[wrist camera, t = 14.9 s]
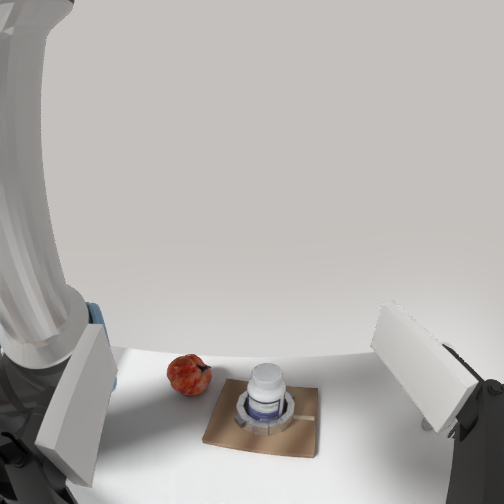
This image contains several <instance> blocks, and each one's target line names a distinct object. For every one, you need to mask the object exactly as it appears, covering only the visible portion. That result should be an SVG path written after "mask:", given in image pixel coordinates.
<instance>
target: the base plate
mask: <svg viewBox="0 0 504 504" xmlns="http://www.w3.org/2000/svg"><path fill="white" fill-rule="evenodd" d="M247 386H248V382H246V381H239V380H233V379H226V382H225V384H224V387H223V389H222V392H221V394H220V397H219V399H218V402H217V404H216V407H215V409H214V412H213V414H212V417H211V419H210V421H209V424H208V426H207V429H206V431H205V434H204V436H203V438H202V441H203V443H207V444H211V445H216V446H221V447H226V448H231V449H236V450H242V451H248V452H255V453H262V454H271V455H280V456H291V457H305V458H313V457H314V452H315V438H316V421H317V398H318V388H303V387H291V386H286V390H289V391H290V392H291V393H292V394H293V395H294V396H295V399H294V403H295V405H294V413H293V419H292V423H291V424H290V425H289V426H288V427H287V428H286V429H285V430H284V431H282V432H281V433H277V434H274V435H271V436H269V435H268V436H263V435H256V434H252V433H250V432H249V431H247V430H246V429H244V428H240V427H239V426H238V425H237V423H236V422H235V421H234V416H236V415H237V409H236V405H237V402H238V399H239V396H240V395H241V394H243V393H244V392H245V391H247ZM245 411H246V414H247V415H248V406H247V407H246V409H245ZM285 413H286V411H285V409H283V415H284V414H285ZM283 415H282V416H283Z"/></svg>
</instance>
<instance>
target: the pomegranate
mask: <svg viewBox="0 0 504 504" xmlns="http://www.w3.org/2000/svg"><path fill="white" fill-rule="evenodd" d="M209 368H211V367H210V366H207V365H206V364H204V363H203V361H202V360H201V359H200V358H199V357H197V356H196V355H194V354H188V355H185V356H180V357H178V358H176V359H175V360H173V361H172V362H171V363H170V364H169V366H168V369H167V377H168V379H169V380H170V381H171V385H172V387H173V388H174V389H175V390H177V391H179V392H181V393H182V394H183V395H185V396H194V395H198V394H200V393H202V392H203V391H204V390H205V389H206V388H207V385H208V383H209V382H210V380H211V371H210V369H209Z"/></svg>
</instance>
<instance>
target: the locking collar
mask: <svg viewBox="0 0 504 504" xmlns="http://www.w3.org/2000/svg"><path fill="white" fill-rule="evenodd" d="M294 399H295V396H294V395H293V394H292V393H291V392H290V391H289V390H286V392H285V400H284V409H285V411H286V413H285V414H284V415H283V416H282V417H281V418H279V419H276V420H272V421H269V422H267V421H259V420H255V419H253V418H252V417H250V416H249V415H247V414H246V411H245V409H246V407H247V406H248V398H247V391H245V392H244V393H243V394H241V395H240V396H239V399H238V402H237V405H236V409H237V415H236V416H234V421H235V422H236V423H237V425H238V426H239V427H240V428H244V429H246V430H247V431H249V432H250V433H252V434H256V435H263V436H268V435H269V436H271V435H274V434H277V433H281V432H282V431H284V430H285V429H286V428H287V427H288V426H289V425H290V424H291V423H292V419H293V413H294V405H295V403H294Z"/></svg>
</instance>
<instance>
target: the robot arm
mask: <svg viewBox="0 0 504 504" xmlns="http://www.w3.org/2000/svg"><path fill="white" fill-rule="evenodd" d="M73 4H74V0H0V504H78V503H77V501H76V500H75V498H74V496H73V495H72V493H71V492H70V490H69V488H68V487H67V486H66V484H65V481H66V477H67V478H68V479H69V480H70V481H71V482H72V483H73V484H77V485H81V486H86V487H90V488H92V483H93V477H94V470H95V465H96V459H97V454H98V449H99V444H100V439H101V434H102V430H103V425H104V421H105V417H106V412H107V408H108V404H109V400H110V396H111V393H112V392H113V391H114V390H115V388H116V385H117V377H116V374H117V371H118V369H117V366H116V364H115V361H114V358H113V355H112V352H111V349H110V344H109V339H108V335H107V331H106V327H105V324H104V320H103V317H102V313H101V311H100V308H99V306H98V305H97V304H95V303H89V302H85V301H84V299H83V297H82V296H81V294H80V293H79V292H78V291H77V290H75V289H74V288H73V287H71V286H69V285H67V284H66V282H65V279H64V275H63V272H62V268H61V264H60V260H59V256H58V253H57V248H56V244H55V240H54V235H53V230H52V225H51V220H50V215H49V209H48V203H47V196H46V189H45V181H44V172H43V162H42V147H41V116H40V115H41V84H42V71H43V60H44V52H45V45H46V38H47V36H48V34H49V32H50V31H51V29H53V28H54V27H55V26H56V25H57V24H58V23H59V22H60V21H61V20H62V19H64V18H65V17H66V16H67V15H68V14H69V13H70V12H71V11H72V8H73ZM371 347H372V349H373V350H374V351H375V352H376V354H377V355H378V356H379V358H380V359H381V360H382V361H383V363H384V364H385V365H386V366H387V368H388V369H389V370H390V372H391V373H392V374H393V375H394V377H395V378H396V379H397V381H398V382H399V383H400V385H401V386H402V387H403V388H404V390H405V391H406V392H407V394H408V395H409V396H410V398H411V399H412V400H413V402H414V403H415V404H416V406H417V407H418V408H419V410H420V411H421V412H422V414H423V415H424V416H425V418H426V419H427V420H428V422H429V423H430V424H431V426H432V427H433V429H434V430H435V431H436V433H438V432H440V431H442V430H444V429H445V428H447V427H449V425H450V424H451V423H452V421H453V420H454V419H455V417H456V419H457V420H458V422H457V423H456V425H455V426H454V427H453V429H452V430H451V431H450V433H449V434H448V437H447V438H450V436H451V435H452V434H453V433H454V431H455V435H454V436H453V437H452V438H454V439H455V440H454V452H453V461H452V469H451V477H450V483H449V489H448V494H447V499H446V504H504V384H501V383H500V382H498V381H497V380H493V379H489V380H486V381H484V380H483V379H482V378H481V377H480V376H479V375H478V374H477V373H476V372H475V371H474V370H473V369H472V368H471V367H470V366H469V365H468V364H467V363H466V362H464V360H463V359H462V358H461V357H459V355H458V354H457V353H456V352H455V351H454V350H453V349H451V348H449V347H447V346H445V345H444V344H442V345H441V344H440V343H439V342H438V341H437V340H436V339H435V338H434V337H433V336H432V335H431V334H430V333H429V332H427V330H425V329H424V328H423V327H422V326H421V325H420V324H419V323H418V322H417V321H416V320H415V319H413V318H412V317H411V316H410V315H409V314H408V313H407V312H406V311H405V310H404V309H402V308H401V307H400V306H399V305H398V304H397V303H396V302H395V301H390V302H384V303H382V306H381V309H380V313H379V317H378V321H377V325H376V329H375V332H374V336H373V339H372V343H371Z"/></svg>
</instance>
